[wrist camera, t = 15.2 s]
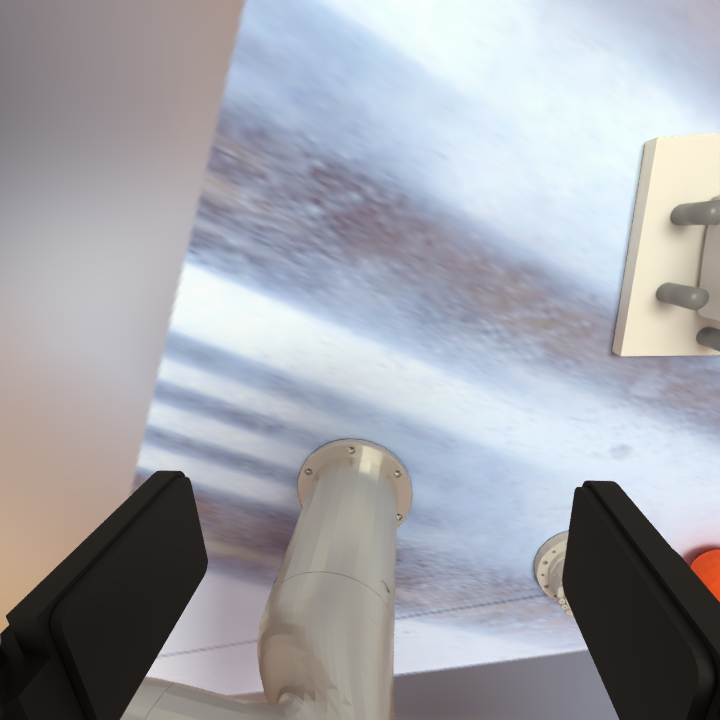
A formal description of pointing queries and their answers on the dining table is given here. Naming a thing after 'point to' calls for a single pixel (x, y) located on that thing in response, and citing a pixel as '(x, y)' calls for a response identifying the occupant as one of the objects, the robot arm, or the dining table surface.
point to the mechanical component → (553, 569)
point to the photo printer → (711, 272)
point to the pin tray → (670, 251)
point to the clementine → (709, 570)
